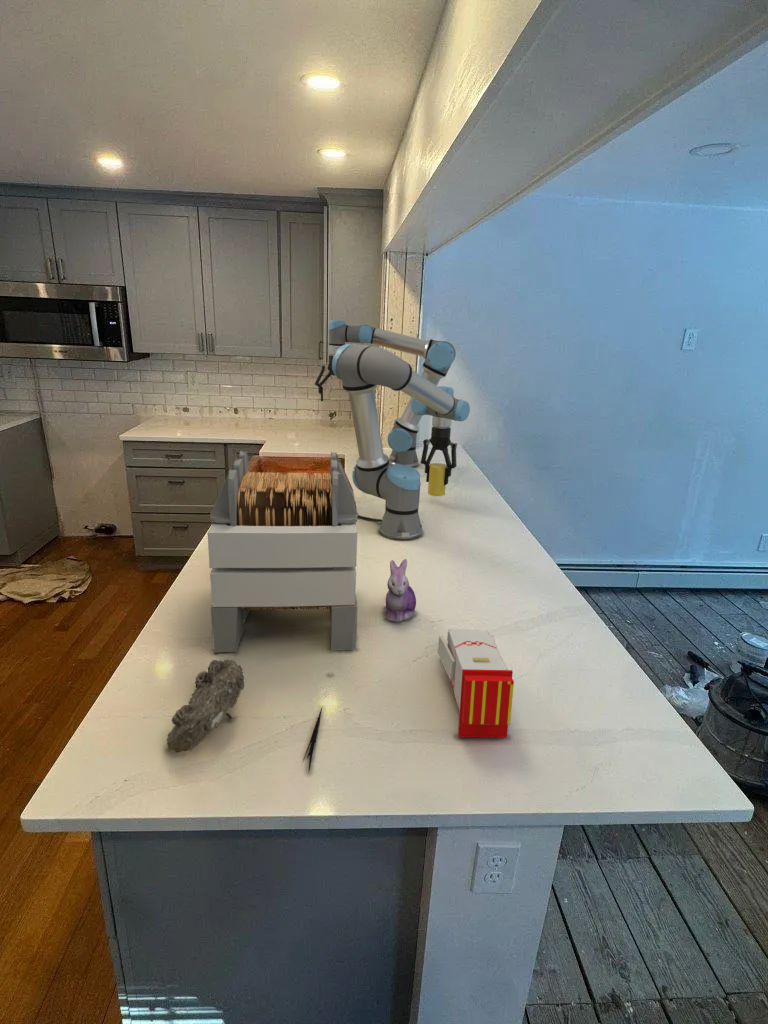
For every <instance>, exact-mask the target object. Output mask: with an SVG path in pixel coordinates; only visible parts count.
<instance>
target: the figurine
mask: <svg viewBox="0 0 768 1024" xmlns="http://www.w3.org/2000/svg"><path fill="white" fill-rule="evenodd" d="M407 567H408V559H406V558H404V559H403V560H402V561H401V563H400V565H399V566H398V565H397V563H396V562H395V561H394V560H393V559H391V560H390V561H389V570H390V576H389V578H388V579H387V589H388V591H387V592H386V594H385V595H386V596H385V607H384V615H385V616H386V620H387V621H391V622H395V623H400V622H402V621H406V620H409V619H410V618H411V617H413V616H414V615H415V610H416V606H417V597H416V593H415V591H414V590H413V587H411V586H410V582H409V579H408V577H407V574H406V571H407Z"/></svg>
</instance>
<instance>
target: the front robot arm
mask: <svg viewBox="0 0 768 1024" xmlns="http://www.w3.org/2000/svg"><path fill="white" fill-rule="evenodd" d="M332 370H333V373H334V375H335V376H334V377H337V379H339V380H341V385H342V390H343V391H344V392H346V393H347V394H348V400H349V399H350V401H349V405H350V410H351V416H352V423H353V428H354V433H355V439H356V445H357V450H358V451H357V452H358V458H357V459H356V461H355V465H354V466H353V469H354V470H352V474H351V476H352V477H351V478H352V482H353V484H354V486H355V488H356V489H357V490H359V491H361V492H362V493H365V494H366V495H371V496H374V497H376V498H379V499H382V500H385V504H384V505H385V507H384V508H385V509H384V513H383V515H382V519H381V518H374V517H369V516H364V515H359V514H358V519H362V520H366V521H372V522H378V523H379V526H378V533H379V534H380V535H381V536H382V537H385V538H387V539H389V540H395V541H410V540H415V539H418V538H420V537H421V536H422V535H423V525H422V524H421V518H420V515H419V507H420V506H419V505H420V496H421V495H420V494H421V482H422V481H421V474H420V471H418V470H417V468H415V467H414V468H412V467H410V466H406V465H405V466H404V465H399V464H396V465H391V466H390V465H389V455H387V454H385V453H384V448H383V441H382V435H381V429H380V422H379V416H378V414H379V413H378V408H377V402H376V395H375V388H376V387H377V386H381V387H385V388H389V389H391V390H392V391H394V392H402V393H404V394H405V395H407V396H409V397H410V398H411V397H412V398H413V399H412V401H411V409H412V411H413V412H414V414H416V415H422V417H423V416H430V417H431V416H432V419H431V433H430V438H425V439H424V440H423V441H422V444H423V448H422V454H421V457H420V464H422V465H424V474H426V479H425V480H426V481H425V482H426V483H429V469H430V464H431V462H432V460H433V457H434V455H435V453H436V451H441V452H442V454H443V457H444V461H445V464H446V465H447V468H446V469H445V480H444V485H449V479H450V477H451V476H452V471H453V469H456V468H457V447H458V443H457V442H452V441H451V433H452V432H451V430H452V428H451V427H452V422H453V421H454V422H464V421H466V420H467V419H468V417H469V415H470V412H471V406H470V403H469V401H466V400H464V399H461V398H460V399H458V398H456V397H455V396H454V393H455V392H454V391H455V390H454V389H453V387H452V386H451V387H450V386H445V385H444V386H443V385H442V386H440V385H437V386H436V385H434V384H433V383H431V382H430V381H428V380H427V379H425V378H424V377H422V376H421V375H422V374H419V373H418V372H416V371H415V370H413V367H412V365H411V364H410V363H408V362H407V361H405V360H404V359H403V358H401V357H400V356H398V355H396V354H395V353H393V352H391V351H390V350H387V348H385V347H382V346H378V345H366V344H359V343H345V345H343V346H341V347H340V348H339V349H338V350H337V351H336V354H335V355H334V357H333V360H332ZM430 444H431V446H432V447H431V449H430V451H429V454H428V450H429V445H430ZM449 446H450V449H451V450H450V452H449ZM449 453H450V454H451V455H450V454H449ZM450 456H451V457H450Z"/></svg>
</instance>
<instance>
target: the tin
mask: <svg viewBox="0 0 768 1024" xmlns="http://www.w3.org/2000/svg"><path fill="white" fill-rule="evenodd" d="M429 465H430V469H429V482H427V483H428V484H427V485H428V487H427V494H428V495H429V496H433V497H443V496H445V495H446V485H444V480H445V469H446V468H447V465H446V463H440V462H432V463H430V464H429Z"/></svg>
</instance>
